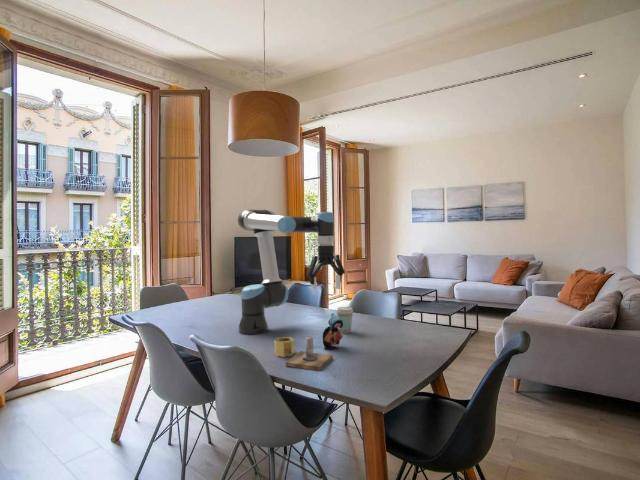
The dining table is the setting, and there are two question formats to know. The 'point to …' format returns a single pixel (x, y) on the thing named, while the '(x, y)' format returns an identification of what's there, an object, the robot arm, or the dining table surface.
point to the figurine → (332, 333)
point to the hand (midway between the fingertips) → (326, 290)
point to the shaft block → (309, 358)
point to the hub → (284, 346)
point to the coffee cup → (345, 318)
